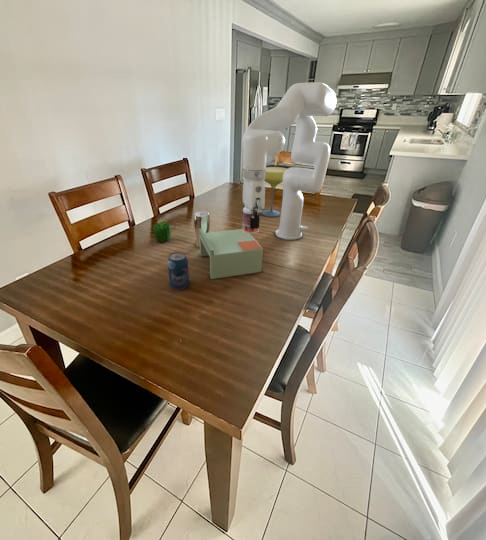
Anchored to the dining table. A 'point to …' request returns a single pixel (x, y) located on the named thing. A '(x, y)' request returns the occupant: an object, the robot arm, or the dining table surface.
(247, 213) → the pill bottle
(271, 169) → the cocktail glass
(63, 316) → the dining table surface
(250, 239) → the shelf
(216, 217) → the dining table surface
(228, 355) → the dining table surface
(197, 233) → the beer glass
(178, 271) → the soda can
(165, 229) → the bell pepper
